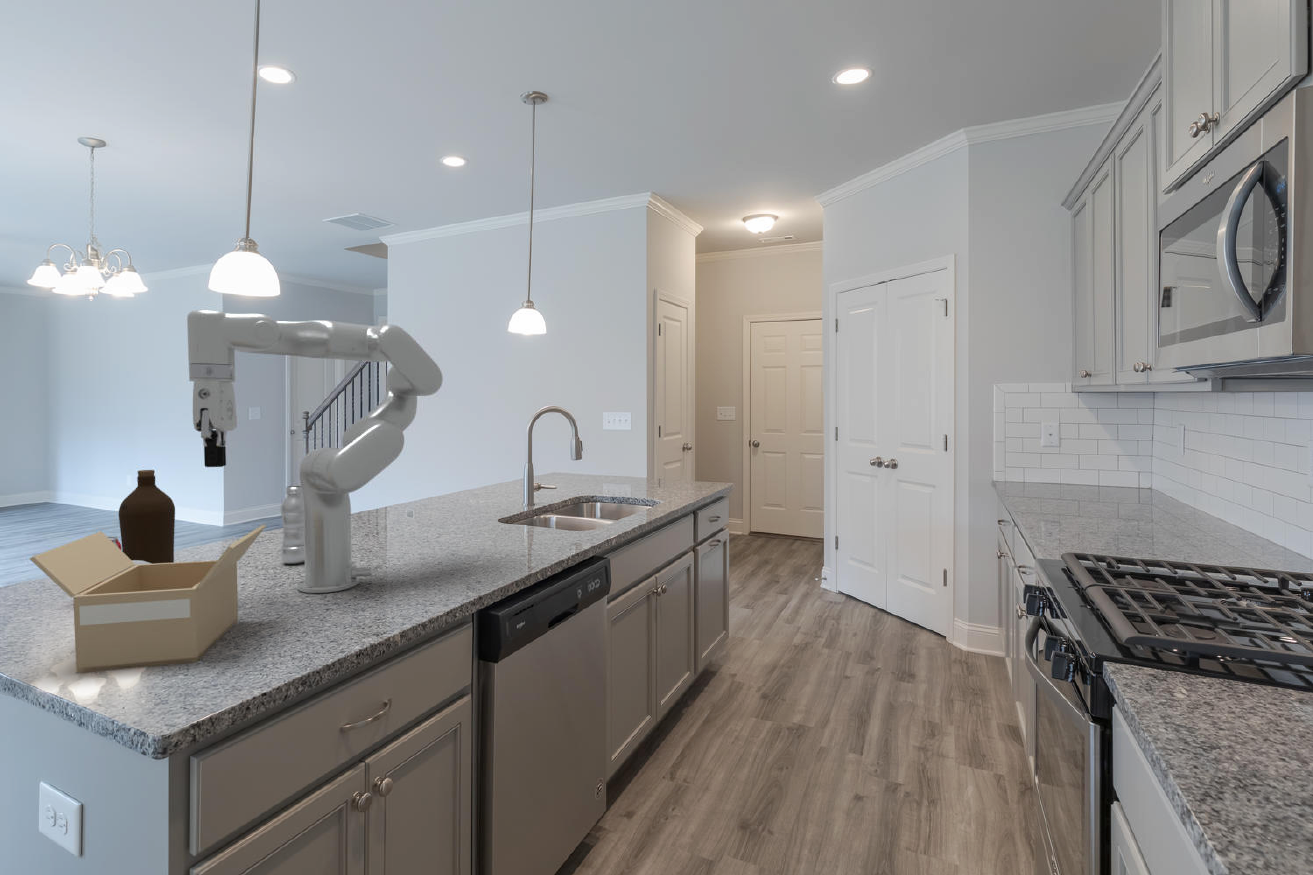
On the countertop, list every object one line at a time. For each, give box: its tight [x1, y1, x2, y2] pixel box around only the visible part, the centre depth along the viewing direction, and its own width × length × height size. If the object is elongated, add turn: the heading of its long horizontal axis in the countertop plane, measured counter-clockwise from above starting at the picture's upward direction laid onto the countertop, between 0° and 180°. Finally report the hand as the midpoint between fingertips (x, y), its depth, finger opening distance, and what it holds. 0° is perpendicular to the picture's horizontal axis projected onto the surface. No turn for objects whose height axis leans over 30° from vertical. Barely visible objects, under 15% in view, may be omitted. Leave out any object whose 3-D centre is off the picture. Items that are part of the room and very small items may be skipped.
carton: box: [72, 559, 239, 674], centre depth 110 cm, size 16×20×12 cm
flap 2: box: [196, 524, 267, 589], centre depth 113 cm, size 8×19×1 cm
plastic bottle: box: [280, 485, 305, 565], centre depth 165 cm, size 6×7×20 cm
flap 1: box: [29, 530, 135, 598], centre depth 107 cm, size 8×19×1 cm
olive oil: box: [118, 469, 176, 564], centre depth 154 cm, size 11×11×25 cm
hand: (215, 466), depth 127 cm, fingers closed
